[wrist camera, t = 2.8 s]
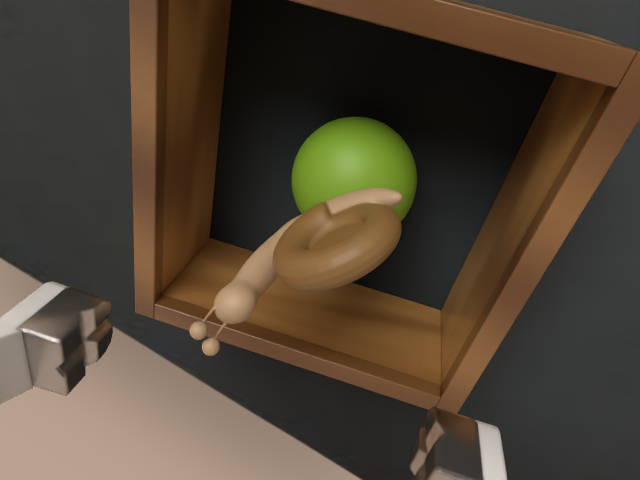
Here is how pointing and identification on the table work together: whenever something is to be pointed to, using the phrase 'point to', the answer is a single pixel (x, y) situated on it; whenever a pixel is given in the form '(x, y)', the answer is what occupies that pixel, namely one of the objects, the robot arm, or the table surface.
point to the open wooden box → (351, 299)
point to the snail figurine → (328, 218)
